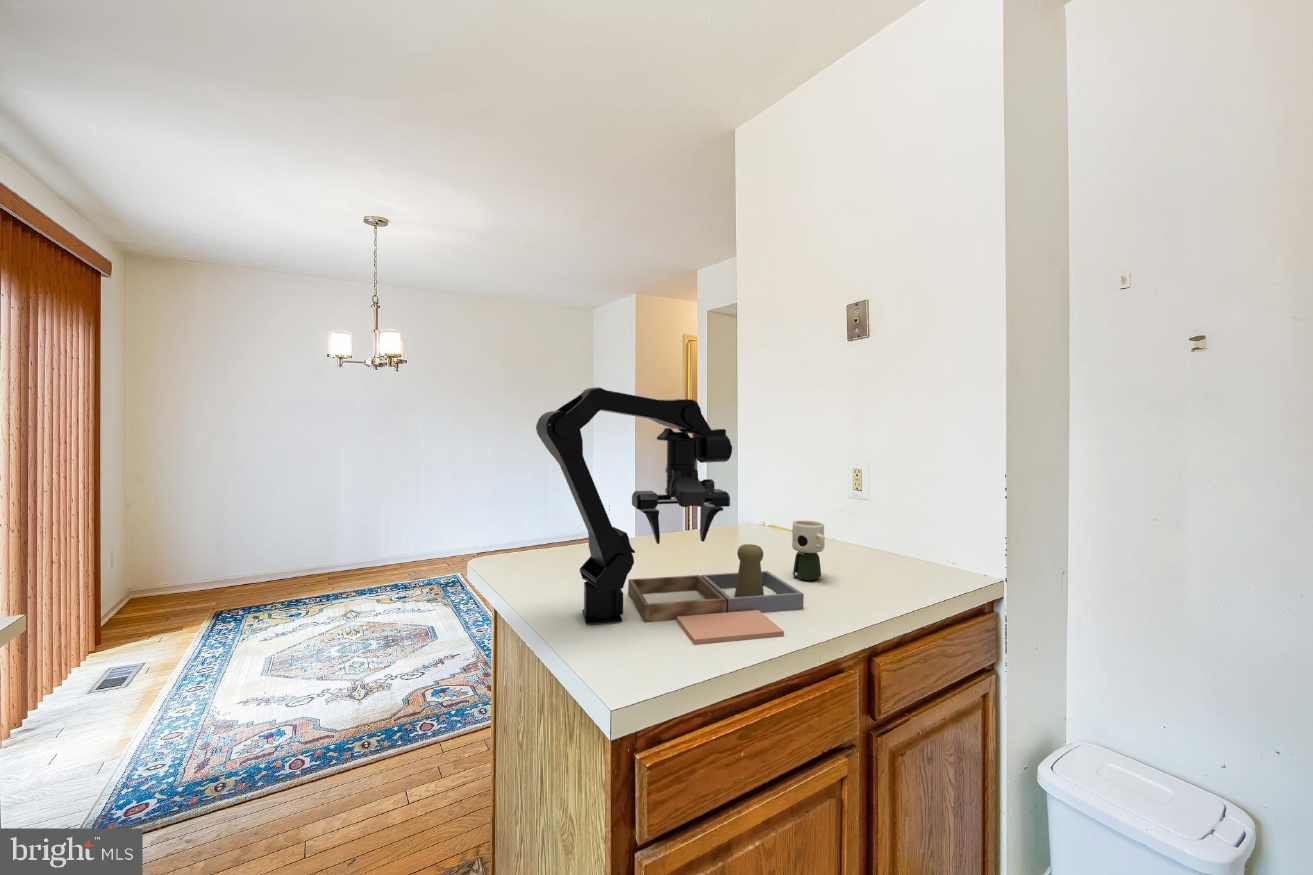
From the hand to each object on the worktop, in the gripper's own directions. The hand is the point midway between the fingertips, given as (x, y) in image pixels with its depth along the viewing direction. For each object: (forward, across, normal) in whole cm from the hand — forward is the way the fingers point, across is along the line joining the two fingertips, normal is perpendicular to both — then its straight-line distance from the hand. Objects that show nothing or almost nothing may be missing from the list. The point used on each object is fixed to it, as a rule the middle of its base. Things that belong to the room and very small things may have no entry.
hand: (680, 542), depth 102 cm
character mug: (+13, +34, +10) cm, 37 cm away
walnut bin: (+12, -1, 0) cm, 12 cm away
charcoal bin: (+12, +15, 0) cm, 19 cm away
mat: (+12, +5, -14) cm, 19 cm away
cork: (+12, +15, 0) cm, 19 cm away
